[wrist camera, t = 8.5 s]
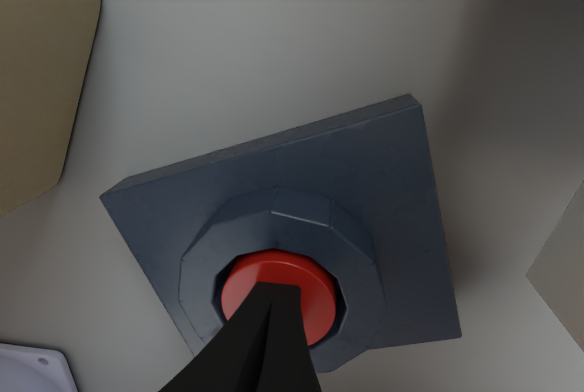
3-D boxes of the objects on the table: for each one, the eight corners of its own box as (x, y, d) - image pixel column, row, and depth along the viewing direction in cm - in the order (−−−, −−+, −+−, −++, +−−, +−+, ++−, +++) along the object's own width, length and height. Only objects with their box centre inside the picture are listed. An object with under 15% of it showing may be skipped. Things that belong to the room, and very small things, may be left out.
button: (256, 318, 13) (245, 356, 12) (219, 242, 12) (202, 273, 10) (347, 303, 13) (348, 342, 11) (319, 219, 11) (316, 250, 10)
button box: (214, 341, 17) (186, 411, 14) (124, 177, 14) (60, 222, 10) (449, 306, 14) (480, 382, 11) (410, 93, 11) (439, 118, 8)
